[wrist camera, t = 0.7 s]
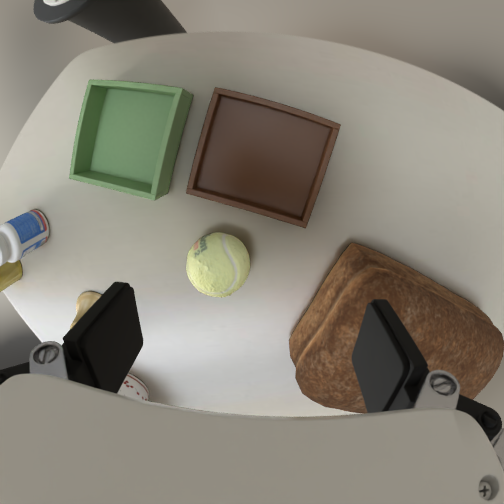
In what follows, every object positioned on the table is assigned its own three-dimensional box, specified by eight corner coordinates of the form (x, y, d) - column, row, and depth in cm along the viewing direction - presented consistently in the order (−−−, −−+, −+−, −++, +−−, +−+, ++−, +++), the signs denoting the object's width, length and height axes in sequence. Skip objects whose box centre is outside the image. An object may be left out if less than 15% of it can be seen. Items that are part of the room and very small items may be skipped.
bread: (342, 228, 30) (388, 283, 18) (483, 306, 33) (526, 352, 21) (277, 340, 36) (280, 420, 24) (425, 380, 39) (451, 434, 27)
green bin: (107, 84, 25) (88, 79, 21) (193, 94, 25) (182, 88, 22) (88, 173, 29) (68, 178, 25) (168, 193, 29) (154, 200, 26)
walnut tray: (218, 90, 25) (214, 87, 23) (335, 125, 26) (340, 124, 24) (190, 190, 29) (185, 193, 27) (303, 223, 30) (305, 228, 28)
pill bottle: (27, 205, 30) (-19, 225, 21) (50, 213, 31) (2, 236, 22) (28, 239, 32) (-14, 264, 23) (50, 248, 33) (7, 277, 24)
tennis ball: (235, 214, 30) (227, 233, 24) (262, 265, 32) (262, 295, 26) (186, 239, 31) (167, 263, 25) (214, 286, 33) (204, 318, 27)
